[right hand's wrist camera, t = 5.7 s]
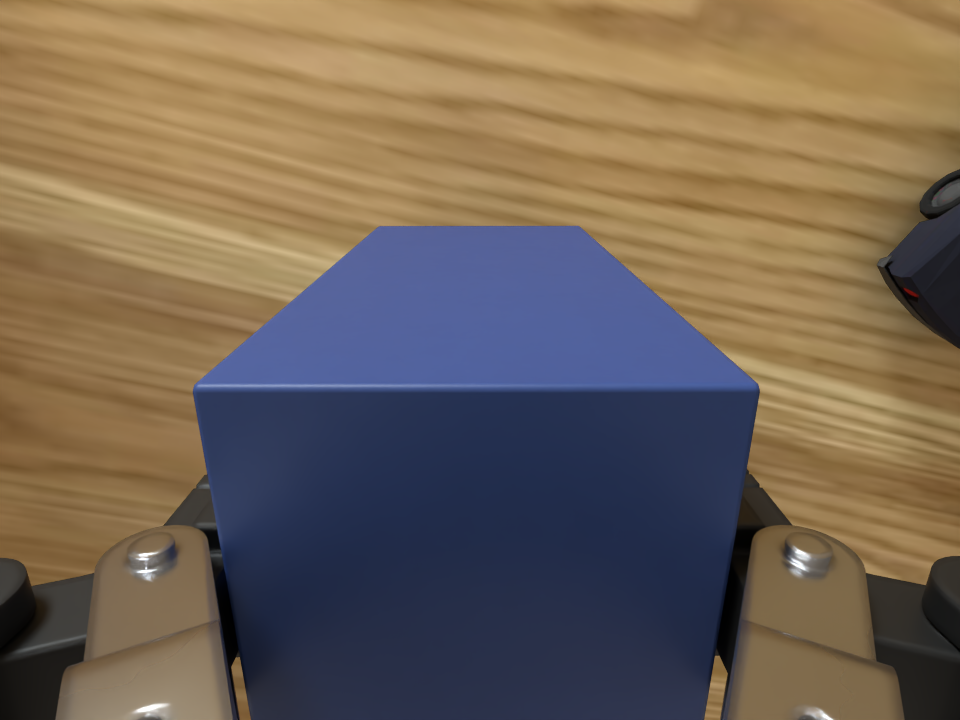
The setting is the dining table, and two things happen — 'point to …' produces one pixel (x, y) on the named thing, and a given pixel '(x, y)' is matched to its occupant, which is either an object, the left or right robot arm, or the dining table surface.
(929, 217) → the toy car
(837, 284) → the dining table surface
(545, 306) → the box
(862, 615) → the right robot arm
